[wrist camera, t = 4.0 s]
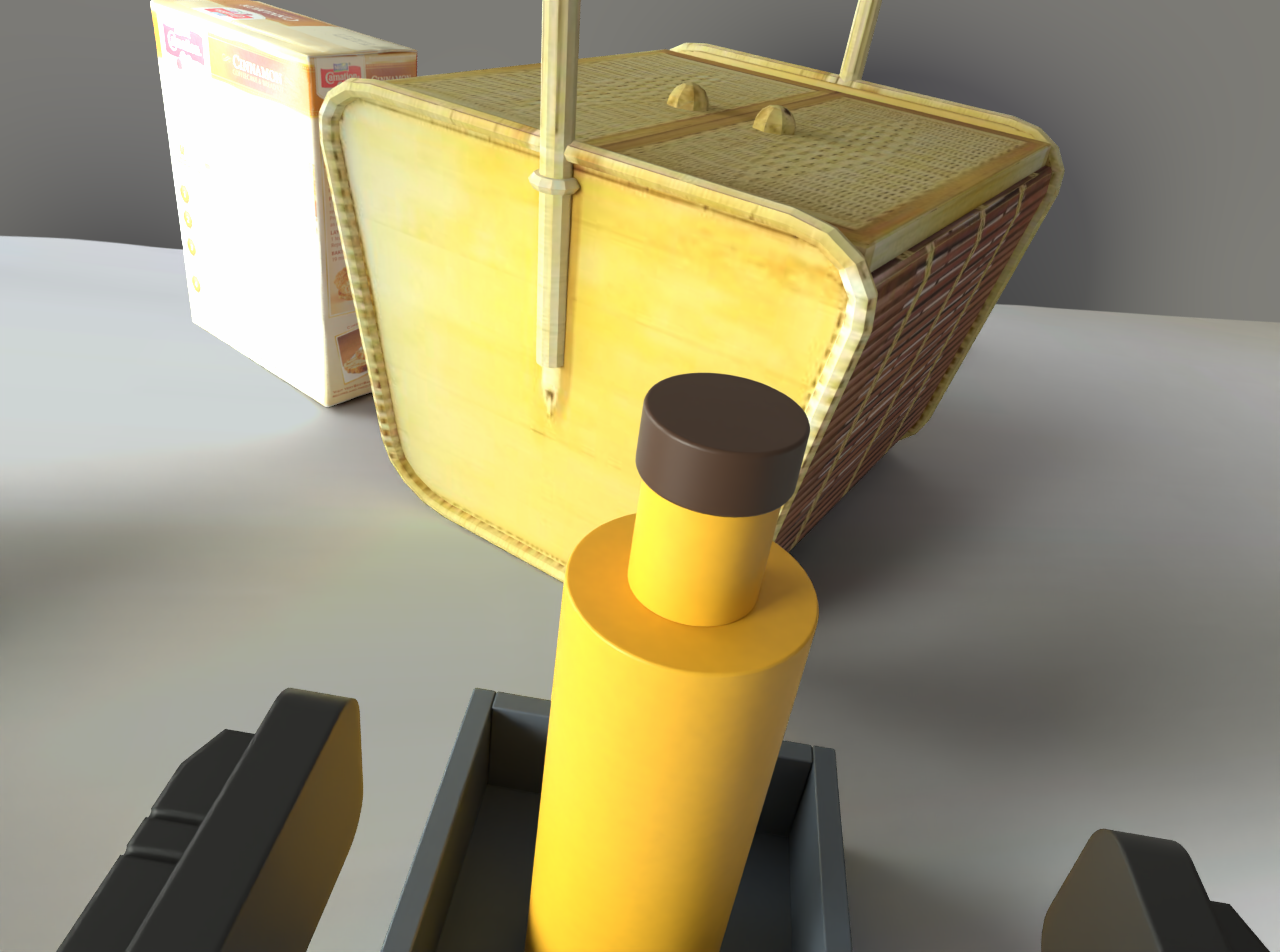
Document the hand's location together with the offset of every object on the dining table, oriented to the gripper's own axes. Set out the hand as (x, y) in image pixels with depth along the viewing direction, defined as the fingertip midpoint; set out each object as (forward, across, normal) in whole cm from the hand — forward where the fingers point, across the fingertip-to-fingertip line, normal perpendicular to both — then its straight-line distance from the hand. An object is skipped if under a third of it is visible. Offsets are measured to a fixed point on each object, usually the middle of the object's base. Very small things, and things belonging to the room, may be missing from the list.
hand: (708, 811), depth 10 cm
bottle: (+10, 0, +20) cm, 22 cm away
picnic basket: (+40, +1, +20) cm, 45 cm away
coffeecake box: (+47, +26, +20) cm, 57 cm away
